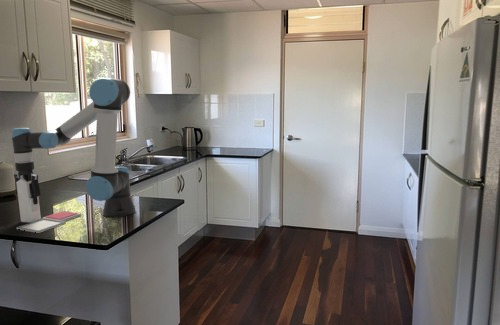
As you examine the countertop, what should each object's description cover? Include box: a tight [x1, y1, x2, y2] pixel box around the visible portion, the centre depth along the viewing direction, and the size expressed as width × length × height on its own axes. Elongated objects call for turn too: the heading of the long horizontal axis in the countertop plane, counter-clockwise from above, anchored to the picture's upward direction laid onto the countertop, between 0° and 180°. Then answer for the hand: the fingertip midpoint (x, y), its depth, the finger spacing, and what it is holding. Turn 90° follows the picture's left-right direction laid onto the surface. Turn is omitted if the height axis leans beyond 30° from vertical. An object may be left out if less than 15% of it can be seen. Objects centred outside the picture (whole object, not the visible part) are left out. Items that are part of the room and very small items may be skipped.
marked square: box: [16, 218, 67, 234], centre depth 182 cm, size 14×14×1 cm
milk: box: [16, 175, 42, 224], centre depth 190 cm, size 6×6×22 cm
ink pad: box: [41, 210, 82, 222], centre depth 194 cm, size 12×12×2 cm
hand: (29, 210), depth 191 cm, fingers closed on milk, 6 cm apart
